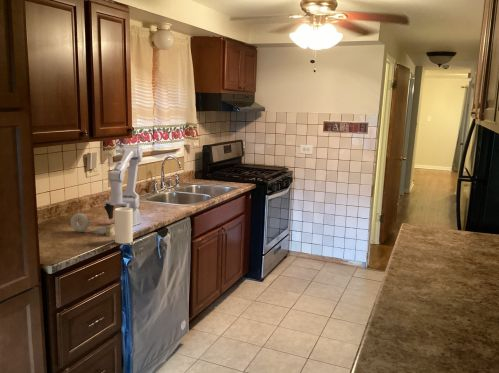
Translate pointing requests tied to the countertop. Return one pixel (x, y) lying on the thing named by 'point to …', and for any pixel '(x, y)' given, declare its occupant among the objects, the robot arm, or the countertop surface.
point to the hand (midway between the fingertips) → (116, 219)
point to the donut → (75, 222)
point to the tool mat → (99, 231)
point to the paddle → (110, 230)
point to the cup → (123, 225)
